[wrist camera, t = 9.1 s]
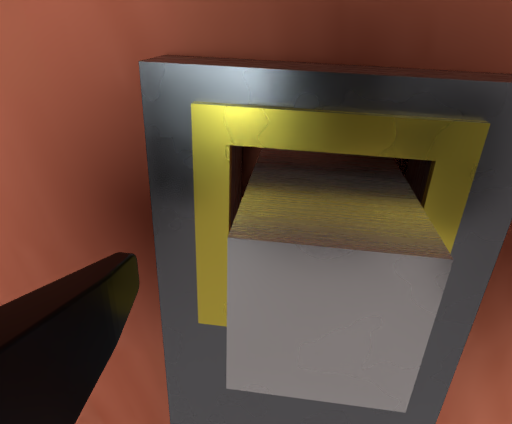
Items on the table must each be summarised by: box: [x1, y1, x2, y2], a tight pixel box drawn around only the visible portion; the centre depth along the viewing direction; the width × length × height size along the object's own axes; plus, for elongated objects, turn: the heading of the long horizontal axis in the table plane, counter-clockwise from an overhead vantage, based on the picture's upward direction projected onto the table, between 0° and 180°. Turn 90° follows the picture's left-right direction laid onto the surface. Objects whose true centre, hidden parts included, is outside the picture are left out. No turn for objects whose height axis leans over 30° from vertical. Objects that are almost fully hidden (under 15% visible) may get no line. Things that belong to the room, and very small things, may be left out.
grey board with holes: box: [139, 55, 512, 424], centre depth 15 cm, size 10×21×2 cm, turn 177°
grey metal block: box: [226, 148, 454, 413], centre depth 11 cm, size 4×4×6 cm
